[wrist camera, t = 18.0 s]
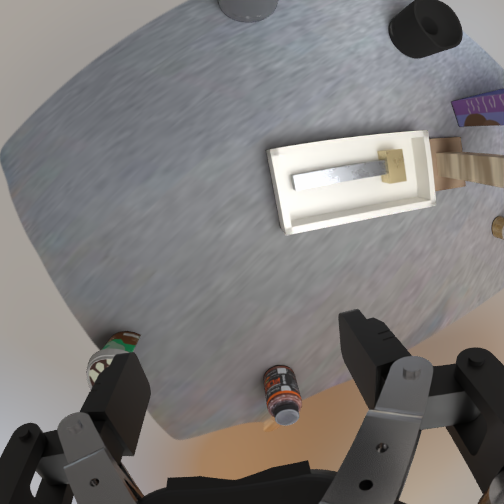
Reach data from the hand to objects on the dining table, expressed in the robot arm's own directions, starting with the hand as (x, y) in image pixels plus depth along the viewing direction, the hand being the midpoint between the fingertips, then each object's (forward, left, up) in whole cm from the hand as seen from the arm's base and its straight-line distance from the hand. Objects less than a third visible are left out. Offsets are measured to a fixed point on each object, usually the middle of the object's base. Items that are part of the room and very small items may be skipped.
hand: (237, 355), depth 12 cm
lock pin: (-6, +16, -37) cm, 41 cm away
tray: (-6, +18, -38) cm, 43 cm away
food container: (+26, -20, -38) cm, 50 cm away
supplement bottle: (+31, +10, -38) cm, 50 cm away
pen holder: (-33, +28, -38) cm, 58 cm away
